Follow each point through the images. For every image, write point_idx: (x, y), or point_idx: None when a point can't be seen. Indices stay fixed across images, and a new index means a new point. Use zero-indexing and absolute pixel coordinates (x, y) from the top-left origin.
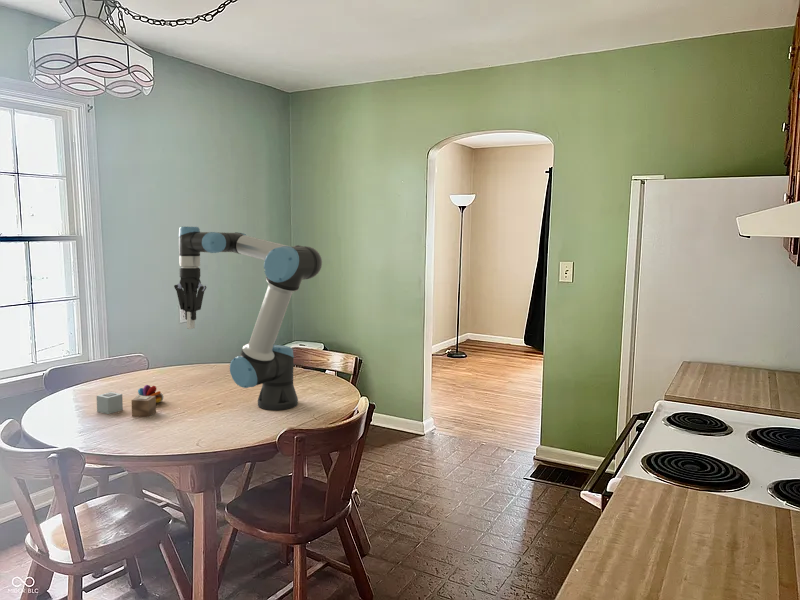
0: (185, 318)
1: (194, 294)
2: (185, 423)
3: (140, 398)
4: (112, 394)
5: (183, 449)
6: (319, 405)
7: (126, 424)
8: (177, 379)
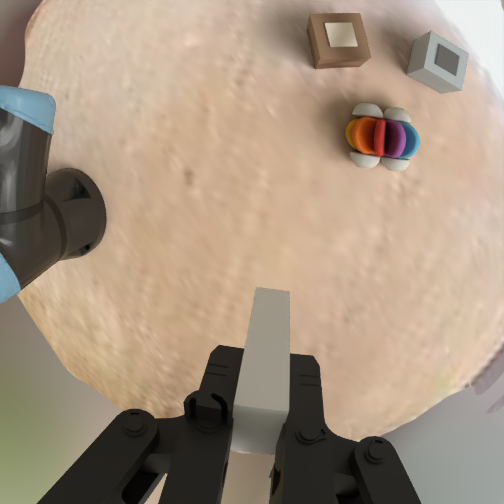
0: (317, 363)
1: None
2: (187, 15)
3: (343, 24)
4: (441, 59)
5: None
6: None
7: None
8: (397, 351)
